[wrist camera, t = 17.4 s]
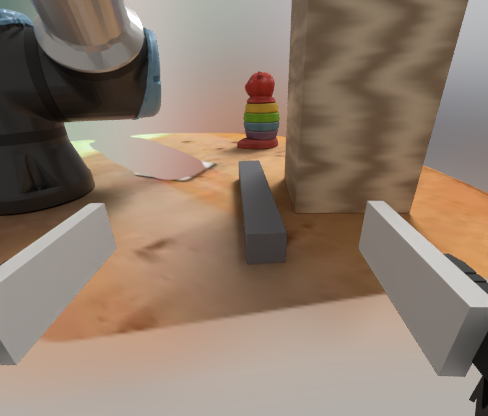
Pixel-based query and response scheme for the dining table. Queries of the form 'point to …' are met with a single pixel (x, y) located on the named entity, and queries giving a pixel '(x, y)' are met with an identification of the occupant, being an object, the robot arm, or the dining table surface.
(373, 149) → the tall wooden block
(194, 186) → the dining table surface
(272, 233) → the bar
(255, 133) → the stacking bear
